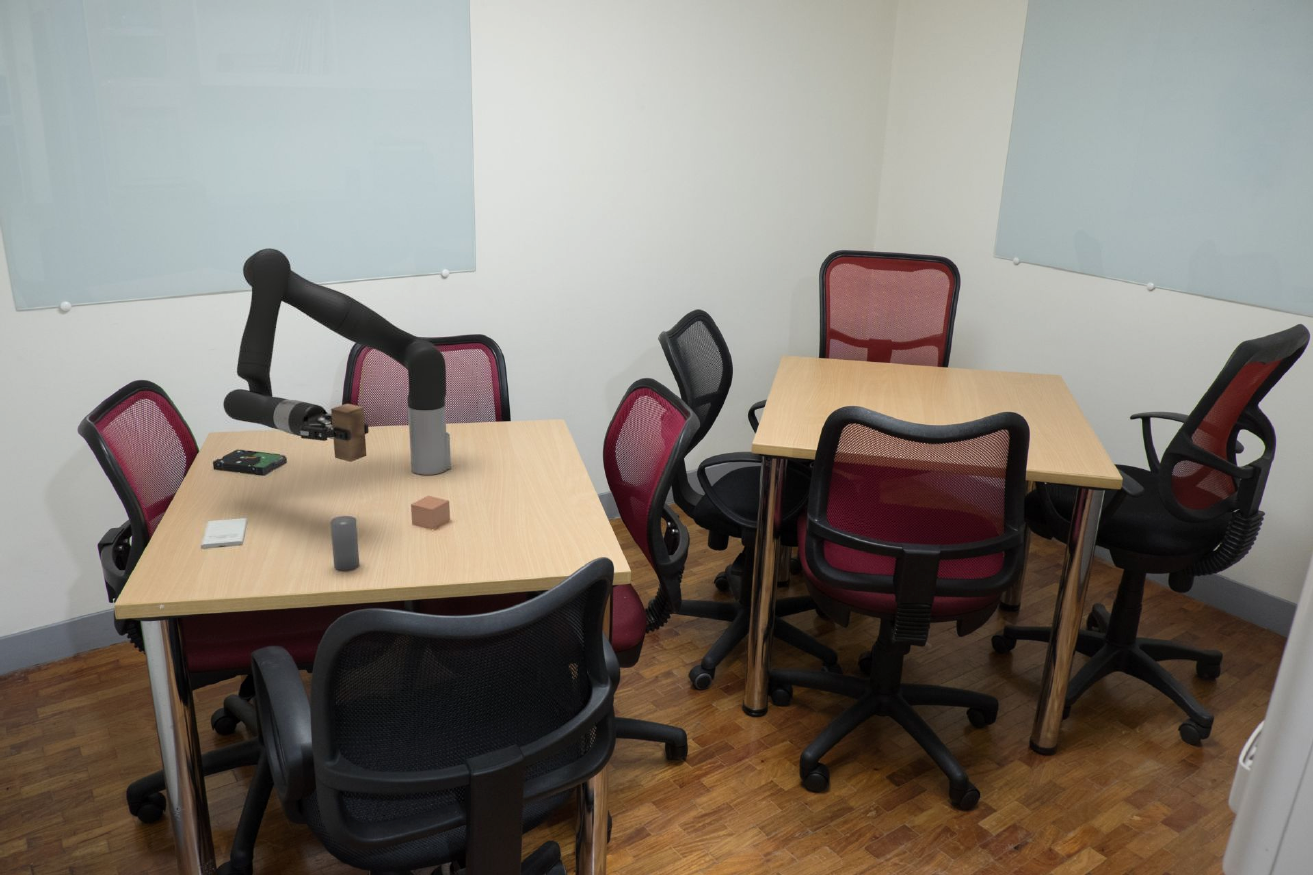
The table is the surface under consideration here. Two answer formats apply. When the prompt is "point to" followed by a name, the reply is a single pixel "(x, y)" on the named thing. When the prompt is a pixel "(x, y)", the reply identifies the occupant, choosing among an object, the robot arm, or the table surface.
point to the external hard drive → (224, 533)
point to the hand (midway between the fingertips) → (358, 432)
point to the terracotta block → (430, 512)
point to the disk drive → (250, 462)
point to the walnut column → (354, 422)
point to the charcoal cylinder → (345, 543)
